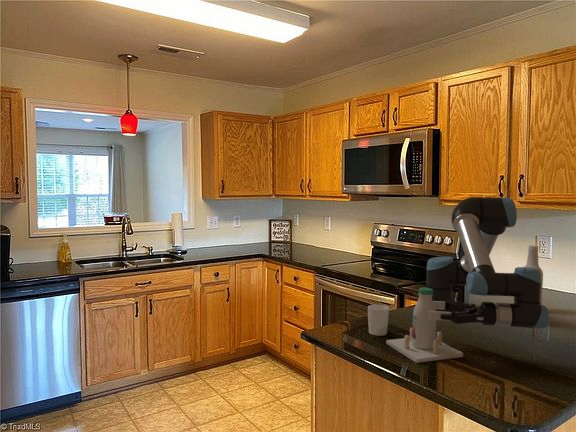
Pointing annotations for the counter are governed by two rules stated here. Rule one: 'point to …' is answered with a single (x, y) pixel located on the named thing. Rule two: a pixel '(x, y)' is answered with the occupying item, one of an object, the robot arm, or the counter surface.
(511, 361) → the counter surface
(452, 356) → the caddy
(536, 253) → the alcohol
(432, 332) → the milk bottle
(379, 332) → the white cup
